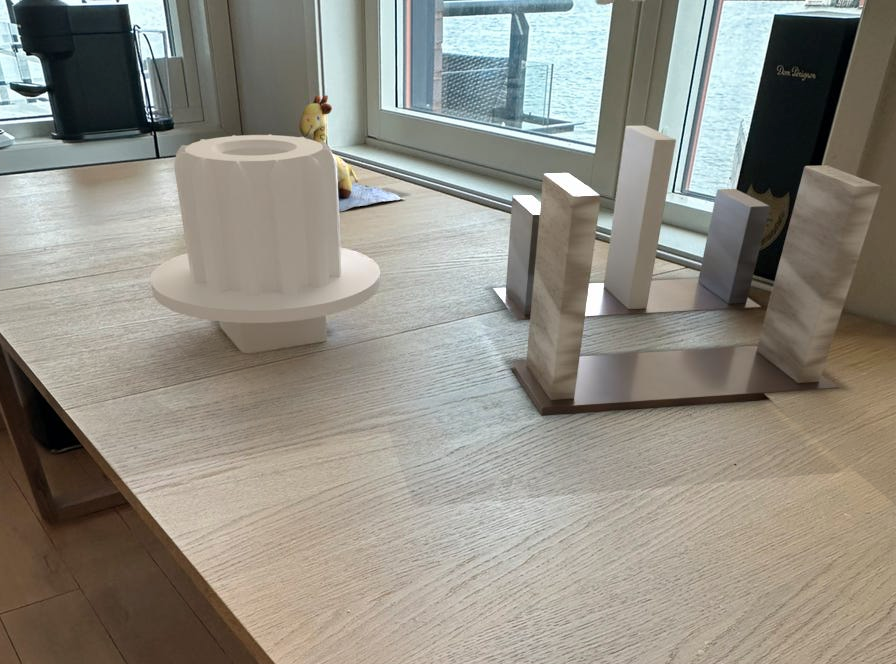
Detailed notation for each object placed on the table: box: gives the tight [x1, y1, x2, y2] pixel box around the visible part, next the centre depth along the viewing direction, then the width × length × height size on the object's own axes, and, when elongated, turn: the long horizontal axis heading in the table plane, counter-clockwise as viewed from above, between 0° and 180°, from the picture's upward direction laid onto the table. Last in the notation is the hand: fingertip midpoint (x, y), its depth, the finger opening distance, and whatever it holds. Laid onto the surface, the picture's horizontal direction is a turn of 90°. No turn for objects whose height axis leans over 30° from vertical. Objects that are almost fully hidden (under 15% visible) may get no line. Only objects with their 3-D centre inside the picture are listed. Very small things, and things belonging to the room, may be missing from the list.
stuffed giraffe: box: [299, 94, 404, 213], centre depth 145 cm, size 16×18×16 cm
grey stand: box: [492, 188, 771, 321], centre depth 104 cm, size 31×12×12 cm, turn 100°
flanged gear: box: [149, 133, 381, 355], centre depth 93 cm, size 25×25×19 cm
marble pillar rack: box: [509, 164, 882, 416], centre depth 83 cm, size 31×12×19 cm, turn 100°
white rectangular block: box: [603, 125, 677, 309], centre depth 102 cm, size 2×9×18 cm, turn 10°
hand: (621, 2), depth 99 cm, fingers open, 8 cm apart
